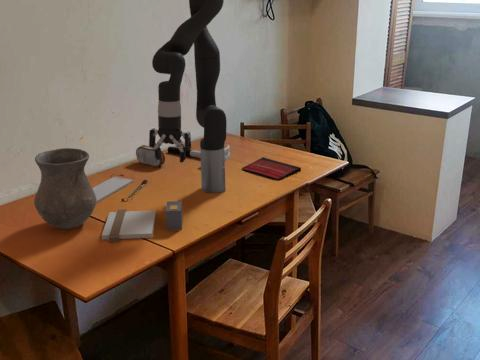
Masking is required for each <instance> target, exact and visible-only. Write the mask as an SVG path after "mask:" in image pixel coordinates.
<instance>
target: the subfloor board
mask: <svg viewBox="0 0 480 360" xmlns="http://www.w3.org/2000/svg"><path fill="white" fill-rule="evenodd" d="M156 216H157V210H136V211H135V210H134V211H133V210H131V211H130V210H129V211H127V209H126V208H125V209H120V208H119V209H117V211H109V213H108V216H107V219H106V222H105V225H104V227H103V230H102V232H101V240H103V241H104V240H108V243H118V242H120V241H119V240H121V239H122V240H126V239H150V238H151V239H152V238H153V234H154V228H155V223H156V222H155V221H156Z"/></svg>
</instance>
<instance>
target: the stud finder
mask: <svg viewBox="0 0 480 360" xmlns="http://www.w3.org/2000/svg"><path fill="white" fill-rule="evenodd" d="M182 203H183V202H182V200H177V201H176V200H175V201H174V200H173V201H172V200H171V201H166V206H165V222H166V230H167V231H181V230H183V222H184V221H183V205H182Z"/></svg>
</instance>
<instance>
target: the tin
mask: <svg viewBox="0 0 480 360" xmlns="http://www.w3.org/2000/svg"><path fill="white" fill-rule="evenodd" d="M135 156H136V159H137V160H138V162H139V163H141V164H143V165H146V166H151V167H155V168H159V167H160V166H161V167H162V166H163V165H164V164H165V162H166V156H165V153H164V151H163V150H161V159H159V160H157V159H156V158H155V149H154V148H153V147H150V146H149V145H145V144H142V145H140V146H138V147H137V148H136V150H135Z"/></svg>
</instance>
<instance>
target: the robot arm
mask: <svg viewBox="0 0 480 360" xmlns="http://www.w3.org/2000/svg"><path fill="white" fill-rule="evenodd" d="M188 4H189V5H188V6H189V12H190V13H189V14H190V17H189V18H188V19H186V20H185V21H184V22H182V23H181V24H180V25H179V26H178V27H177V29H176V30H175V32H174V33H173V35H172V37H171V38H170V40H167V42H166V43H164V44H163V45H162V46H161V47H160V48H159V49H157V51H156V52H155V53H154V55H153V57H152V60H151V62H152V63H151V66H152V68H153V70H154V71H155V73H158V74H164V75H170V77H169V78H168V80H165V81H164V80H163V81H161V82H160V83H159V84H158V87H157V88H158V90H157V91H158V103H157V119H158V120H157V121H158V124H157V125H158V129H156V128H155V127H154V128H151V129H150V130H149V132H148V134H149V138H148V139H149V140H148V146H150V147H153V148H154V149H155V158H156V159H157V160H159V159H161V151H162V148H161V146H162V145H163V144H165V145H167V144H170V145H175V147H176V148H179V150H180V151H181V152H180V155H179V163H183V162H185V160H186V159H187V156H186V151H188V150H189V149H190V150H192V144H191V143H192V140H191V138H192V137H191V132H190V131H186V132H183V131H182V106H181V104H182V103H181V86H182V83H183V82H182V80H183V77H184V74H185V73H184V72H185V70H186V60H185V57H184V56H186V55H187V54H188V53H189V52H190V50H191V48H192V47H193V49H194V50H193V51H194V53H193V55H194V70H195V71H194V72H195V85H196V109H195V117H196V122H197V123H198V125H199V126H201V128H203V138H201V140H200V141H199V147H200V148H199V149H200V150H199V151H200V152H201V157H200V177H201V180H200V181H201V190H202V191H203V192H205V193H210V194H215V193H216V194H217V193H221V192H226V166H225V164H226V163H225V162H226V161H225V156H224V148H225V142H226V140H227V127H228V126H227V115H226V112H225V111H224V110H223V109H222V108H219V107H218V106H217V101H216V87H217V83H218V79H219V77H220V73H221V55H220V49H219V46H218V45H217V43H216V42H215V39H214V38H213V37H212V35H211V33H210V32H209V29H208V27H207V26H208V25H209V24H210V23H211V22H212V21H213V20H214V19H215V17H216V16H217V15H218V14H219V13H220V12H221V10H222V8H223V6H224V0H188ZM157 135H158V137H159V139H158V141H157V142H156V136H157ZM181 138H183V139H184V142H183V141H182V139H181Z"/></svg>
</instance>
